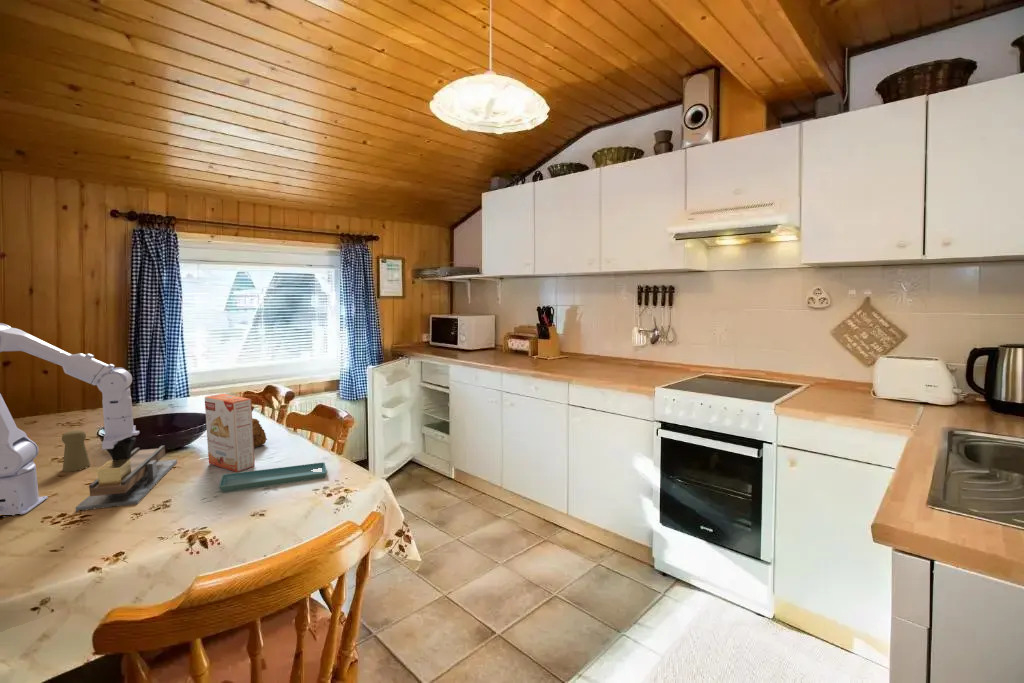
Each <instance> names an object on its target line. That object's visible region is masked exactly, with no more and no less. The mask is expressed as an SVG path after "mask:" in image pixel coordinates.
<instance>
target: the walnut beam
mask: <svg viewBox="0 0 1024 683" xmlns="http://www.w3.org/2000/svg"><path fill="white" fill-rule="evenodd" d="M165 455H166V446H165V445H160V446H159V447H158V448H149V449H140V447H135V448H134V449H132V451H131V455H130V464H131V473H130V474H129V475H128V476H127V477H126V478H125V479H124V480H123V481H121V483H117V484H108V485H99V482H98V478H97V479H95V480H94V481H92V482H91V483H90V484H89V486H88V487H89V488H88V489H89V496H90V497H91V496H100V495H109V494H118V493H126V492H127V491H128V490H129V489H130V488H131V487H132V486H133V485H134V484H135V483H136V482H137V481H138V480H139V479H140V478H141V477H142V476H144V475H145V474H146V473H147V464H148V463H149V462H150V461H153V460H156V462H158V461H161V460H162V459H163V457H164V456H165Z"/></svg>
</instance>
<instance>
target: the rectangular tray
mask: <svg viewBox="0 0 1024 683" xmlns="http://www.w3.org/2000/svg"><path fill="white" fill-rule="evenodd" d="M318 468H322V472H313V471H311V470H313V469H318ZM327 473H328V471H327V466H326V463H325V462H317V463H316V462H315V463H314V462H313V463H306V464H300V465H292V466H291V465H290V466H284V467H283V466H282V467H275V468H267V469H257V470H252V471H251V470H250V471H239V472H234V473H233V472H232V473H231V472H230V473H226V474H225V473H223V474H222V475H221V479H220V481H219V485H218V487H219V489H220V490H221V491H222V492H223V493H228V492H234V491H241V490H249V489H257V488H261V487H262V488H263V487H270V486H275V485H282V484H289V483H296V482H297V483H298V482H303V481H304V482H305V481H309V480H317V479H324V478H325V476H326V475H327Z"/></svg>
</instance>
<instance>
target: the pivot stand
mask: <svg viewBox="0 0 1024 683" xmlns="http://www.w3.org/2000/svg"><path fill="white" fill-rule="evenodd" d="M177 463H178V459H166V460H159V461H158V462H156V460H153V461H150V462H149V463H148V464H147V473H146V474H145V475H144V476H142V477H141V478H140V479H139V480H138V481H137V482H136V483H135V484H134V485H133V486H132V487H131V488H130V489H129V490H128V491H127V492H126V493H118V494H109V495H100V496H91V497H90V495H89V496H87V497H86V498H85V499H84V500H83V501H81V502H80V503H78V504H77V505H76V506H75V512H79V511H78V510H83V511H87V510H86V509H91V510H95V509H94V508H100V509H103V508H102V507H108V508H115V507H114V506H117V507H124V505H126V506H132V505H133V504H134V505H138V504H139V503H140V502H141V501H142V500H143V499H144V498H145V497H144V496H146V495H148V494H149V493H150V492H151V490H152V489H153V488H154V487H155V486H156V485H157V484H158V483H159V482H160V481H161V480H162V479H163V478H164V477H163V476H164V475H165V474H166V475H167V474H168V473H169V471H171V470H172V468H173V467H174V466H175V465H176V464H177ZM166 475H165V476H166ZM162 477H163V478H162ZM161 478H162V479H161ZM160 479H161V480H160ZM159 480H160V481H159ZM158 481H159V482H158ZM157 482H158V483H157ZM156 483H157V484H156ZM155 484H156V485H155ZM154 485H155V486H154ZM153 486H154V487H153ZM152 487H153V488H152ZM150 489H151V490H150ZM143 497H144V498H143ZM142 498H143V499H142ZM141 499H142V500H141ZM140 500H141V501H140ZM139 501H140V502H139ZM112 506H113V507H112Z"/></svg>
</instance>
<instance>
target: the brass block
mask: <svg viewBox="0 0 1024 683" xmlns="http://www.w3.org/2000/svg"><path fill="white" fill-rule="evenodd" d="M96 472H97V479H98V482H99V485H108V484H117V483H121V481H123V480H124V479H125V478H126V477H127V476H128V475H129V474H130V473H131V464H130V459H122V460H113V459H112V460H111V459H110V460H108V461H106V462H105V463H103V465H101V466H100V467H98V469H97V470H96Z"/></svg>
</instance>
